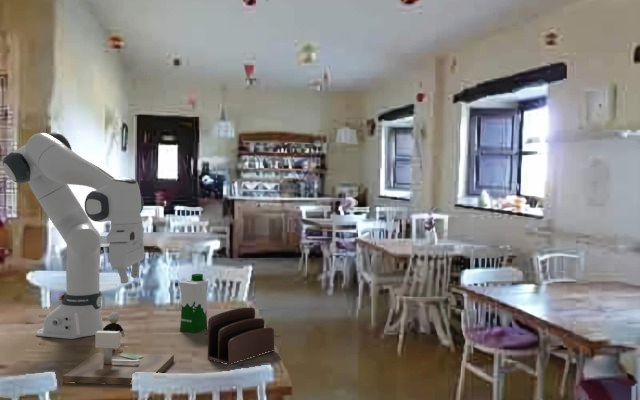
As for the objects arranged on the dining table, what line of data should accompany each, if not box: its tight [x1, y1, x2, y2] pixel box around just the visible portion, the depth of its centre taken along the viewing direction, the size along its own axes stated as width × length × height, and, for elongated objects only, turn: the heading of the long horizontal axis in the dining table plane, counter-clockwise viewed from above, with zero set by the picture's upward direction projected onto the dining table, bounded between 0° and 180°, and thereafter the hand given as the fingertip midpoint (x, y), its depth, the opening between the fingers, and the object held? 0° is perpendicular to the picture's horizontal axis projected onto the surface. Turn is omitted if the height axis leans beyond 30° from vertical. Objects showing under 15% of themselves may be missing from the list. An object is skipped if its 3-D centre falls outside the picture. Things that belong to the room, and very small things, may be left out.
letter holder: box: [207, 307, 275, 364], centre depth 196 cm, size 10×20×14 cm, turn 141°
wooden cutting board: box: [62, 351, 175, 385], centre depth 179 cm, size 24×22×2 cm
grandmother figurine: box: [103, 311, 126, 353], centre depth 199 cm, size 8×4×13 cm, turn 92°
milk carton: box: [178, 273, 209, 334], centre depth 226 cm, size 9×9×20 cm
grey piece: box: [94, 331, 139, 364], centre depth 179 cm, size 12×2×9 cm, turn 86°
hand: (129, 280), depth 182 cm, fingers open, 8 cm apart
